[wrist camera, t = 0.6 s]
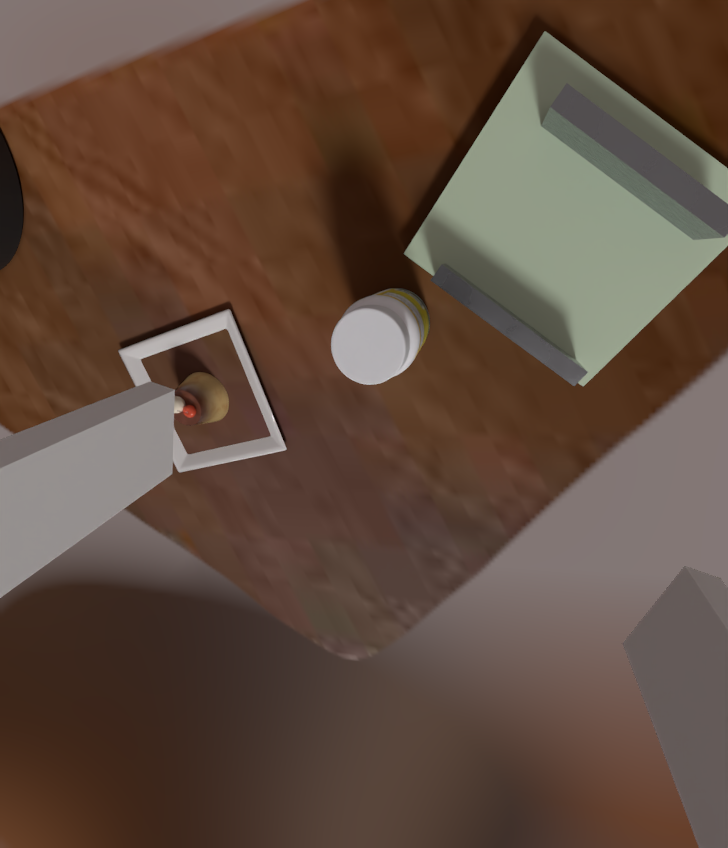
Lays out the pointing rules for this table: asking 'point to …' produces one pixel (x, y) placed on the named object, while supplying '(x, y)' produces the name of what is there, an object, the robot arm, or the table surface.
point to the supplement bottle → (380, 335)
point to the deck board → (566, 217)
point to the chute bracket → (630, 169)
